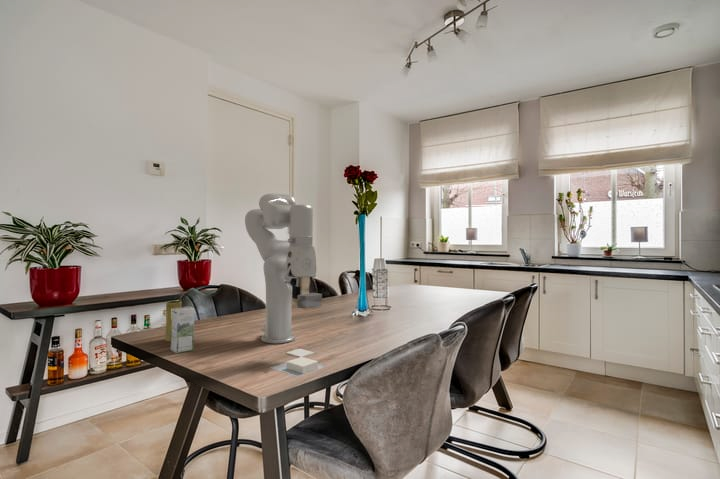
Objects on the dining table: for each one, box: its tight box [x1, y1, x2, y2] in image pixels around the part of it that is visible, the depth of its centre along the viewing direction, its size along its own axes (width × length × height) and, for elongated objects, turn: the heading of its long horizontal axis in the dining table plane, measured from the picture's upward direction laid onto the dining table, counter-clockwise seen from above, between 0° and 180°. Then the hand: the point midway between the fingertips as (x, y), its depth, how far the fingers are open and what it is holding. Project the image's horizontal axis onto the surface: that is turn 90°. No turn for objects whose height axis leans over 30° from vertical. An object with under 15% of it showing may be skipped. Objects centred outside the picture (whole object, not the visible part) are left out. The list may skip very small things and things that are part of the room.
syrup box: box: [169, 306, 195, 354], centre depth 131 cm, size 6×6×14 cm
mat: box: [269, 362, 325, 378], centre depth 114 cm, size 12×11×1 cm
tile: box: [285, 357, 319, 374], centre depth 112 cm, size 2×6×7 cm
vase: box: [164, 300, 183, 343], centre depth 145 cm, size 6×6×14 cm
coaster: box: [285, 348, 315, 358], centre depth 127 cm, size 7×6×1 cm
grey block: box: [291, 276, 323, 310], centre depth 126 cm, size 9×7×10 cm
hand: (300, 297), depth 127 cm, fingers closed on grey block, 3 cm apart
